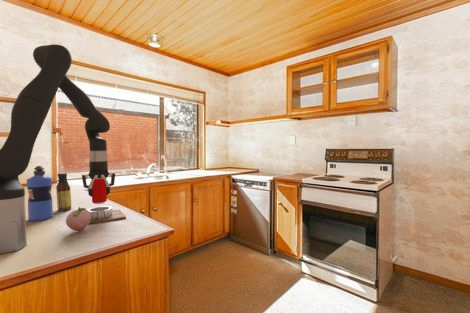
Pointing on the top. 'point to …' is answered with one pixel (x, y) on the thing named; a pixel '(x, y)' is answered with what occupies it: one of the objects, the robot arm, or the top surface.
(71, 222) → the decorative fruit
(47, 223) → the top surface
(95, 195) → the beverage can
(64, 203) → the sauce bottle
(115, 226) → the top surface
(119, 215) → the walnut base board
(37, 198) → the water bottle
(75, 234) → the top surface
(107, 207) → the steel collar
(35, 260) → the top surface
